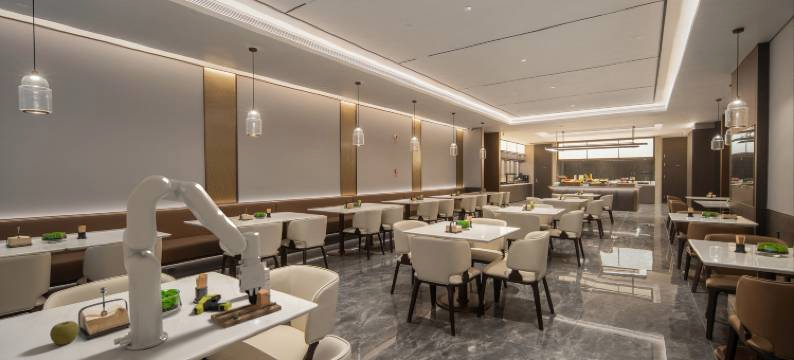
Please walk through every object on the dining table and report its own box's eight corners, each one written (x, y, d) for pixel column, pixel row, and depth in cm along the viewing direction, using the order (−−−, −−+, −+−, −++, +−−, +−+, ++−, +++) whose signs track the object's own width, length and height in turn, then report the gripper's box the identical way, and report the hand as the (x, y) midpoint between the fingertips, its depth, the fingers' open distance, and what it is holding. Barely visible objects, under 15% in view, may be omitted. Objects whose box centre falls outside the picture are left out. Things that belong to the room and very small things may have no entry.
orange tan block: (265, 309, 153) (265, 295, 153) (256, 305, 159) (255, 291, 159) (274, 307, 156) (274, 293, 156) (264, 302, 162) (264, 289, 162)
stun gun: (237, 291, 176) (203, 294, 173) (229, 305, 157) (190, 309, 154) (237, 297, 176) (204, 300, 173) (229, 312, 158) (191, 316, 154)
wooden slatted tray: (225, 328, 140) (224, 318, 140) (210, 318, 150) (210, 309, 150) (281, 309, 157) (281, 301, 157) (265, 302, 167) (265, 294, 167)
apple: (79, 335, 137) (78, 317, 136) (79, 343, 131) (78, 323, 130) (51, 342, 132) (50, 323, 131) (50, 350, 126) (49, 330, 125)
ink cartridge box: (253, 296, 176) (252, 266, 175) (250, 293, 180) (248, 264, 179) (270, 292, 181) (269, 262, 181) (267, 289, 185) (266, 261, 185)
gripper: (237, 266, 147) (239, 311, 147) (272, 258, 158) (273, 300, 158) (229, 263, 152) (231, 306, 153) (263, 256, 163) (265, 296, 164)
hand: (253, 303), depth 156 cm, fingers closed
